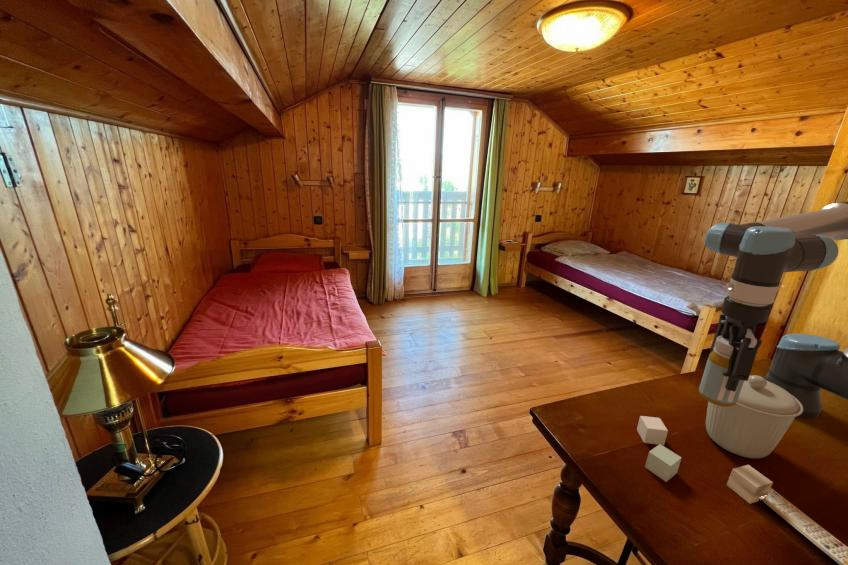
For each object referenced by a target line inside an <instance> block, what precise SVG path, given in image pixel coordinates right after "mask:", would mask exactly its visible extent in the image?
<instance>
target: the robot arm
mask: <svg viewBox="0 0 848 565" xmlns="http://www.w3.org/2000/svg"><path fill="white" fill-rule="evenodd" d="M843 240H844V241H845V240H848V200H846V201H841V202H840V201H839V202H836V203H831V204H828V205H825V206H822V207H821V208H820V209H819V210H813V211H809V212H807V211H806V212H803V213H797V214H792V215H787V216H786V215H785V216H782V217H776V218H769V219H765V220H760V221H753V222H748V223H747V222H746V223H742V224H741V223H740V224H735V223H732V222H729V223H728V222H718V223H715V224H714V225H712V226H711V227H710V228H709V229H708V230H707V232H706V234H705V238H704V244H705V247H706V248H707V249H708V250H709V251H712V252H715V253H718V254H719V255H725V256H729V257H734V258H736V260H735V264H734V268H733V271H732V273H731V276H730V277H731V278H730V281H729V283H726V287H727V289H726V297H724V299H723V303H722V306H721V309H720V311H721V313H720V314H719V317H718V318H719V319H718V325H717V327H716V330H715V333H714V337H713V340H712V343H711V345H710V349H709V350H710V353H711V352H712V351H713V350H714V346H715V342H716V339H717V337H718V336H722V337H723V338H728V339H729V345H731V346H733V351H732V354H731V356H730V359H729V367H728V370H727V373H723V376H724V379H723V383H722V386H721V389H720V392H719V395H718V398H717V400H722V399H723V396H724V393H725V390H726V389H727V390H729V391H730V394H729V397H728V402H732V401H733V398H734V395H735V392H736V389H737V387H738V384H739V381H740V380H744V381H748V378H749V375H751V372H752V368H753V365H754V362H755V359H756V355H757V352H758V350H759V348H760V346H761V345H762V339H759V338H756V337H755V334H756V326H757V325H759V324H763V323H766V321H768V319H769V315H770V313H771V309H772V306H771V305H773V304H774V302H775V299H776V296H777V292H778V290H779V287H780V283H781V281H782V277H783V274H784V273H794V272H810V271H811V272H812V271H815V270H821V269H823V268H826V267H827V268H828V267H829V266H830V265H832V264H833V263H835V261H836V260H837V257H838V256H839V247H838V244H837V243H836V241H843ZM735 342H741V343H735ZM737 348H739V349H738V350H737ZM840 349H841V346H840V343H838V342H837V341H836V340H833V339H830V338H828V337H822V336H821V335H820V336H819V335H813V334H807V333H788V334H785V335H783V336H782V337H781V338H780V341H779V342H778V345H776V350H775V353H774V355H773V359H772V361H771V364H770V367H769V370H768V372H767V374H766V375H765V376H764V377H763V378H764V379H765V380H766V381H769V382H771V383H773V384H776V385H778V386H779V387H781V388H783V389H784V390H786V391H787V392H789V393H790V394H791V395H793V396H794V397H795V398H796V399H797V400H798V401H799V402H800V403H801V404H802V406H803V412H802V414H801V415H799V416H797V417H796V418H800V419H816V418H819V417H820V414H821V412H822V410H823V408H822V407H823V406H822V401H821V398H822V397H821V390H824V391H827V392H828V393H831V394H833V395H835V396H837V397H839V398H841V399H844V400H846V401H848V347H847V348H844V349H843V350H842V351H841V350H840Z"/></svg>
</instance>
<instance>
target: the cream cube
mask: <svg viewBox="0 0 848 565" xmlns="http://www.w3.org/2000/svg"><path fill="white" fill-rule="evenodd" d="M636 430H637V431H636V432H637V433H638V434H639V436H640V438H641V440H642V442H643V444H650V445H657V446H658V445H659V444H661V445H662V446H665V444H666V443H665V442H666V439H667V435H668V432H669V430H668V429H667V427H666V426H665V424H664V422H663V420H662V419H661V417H654V416H646V415H645V416H644V415H640V416H639V420H638V424H637V427H636Z"/></svg>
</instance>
